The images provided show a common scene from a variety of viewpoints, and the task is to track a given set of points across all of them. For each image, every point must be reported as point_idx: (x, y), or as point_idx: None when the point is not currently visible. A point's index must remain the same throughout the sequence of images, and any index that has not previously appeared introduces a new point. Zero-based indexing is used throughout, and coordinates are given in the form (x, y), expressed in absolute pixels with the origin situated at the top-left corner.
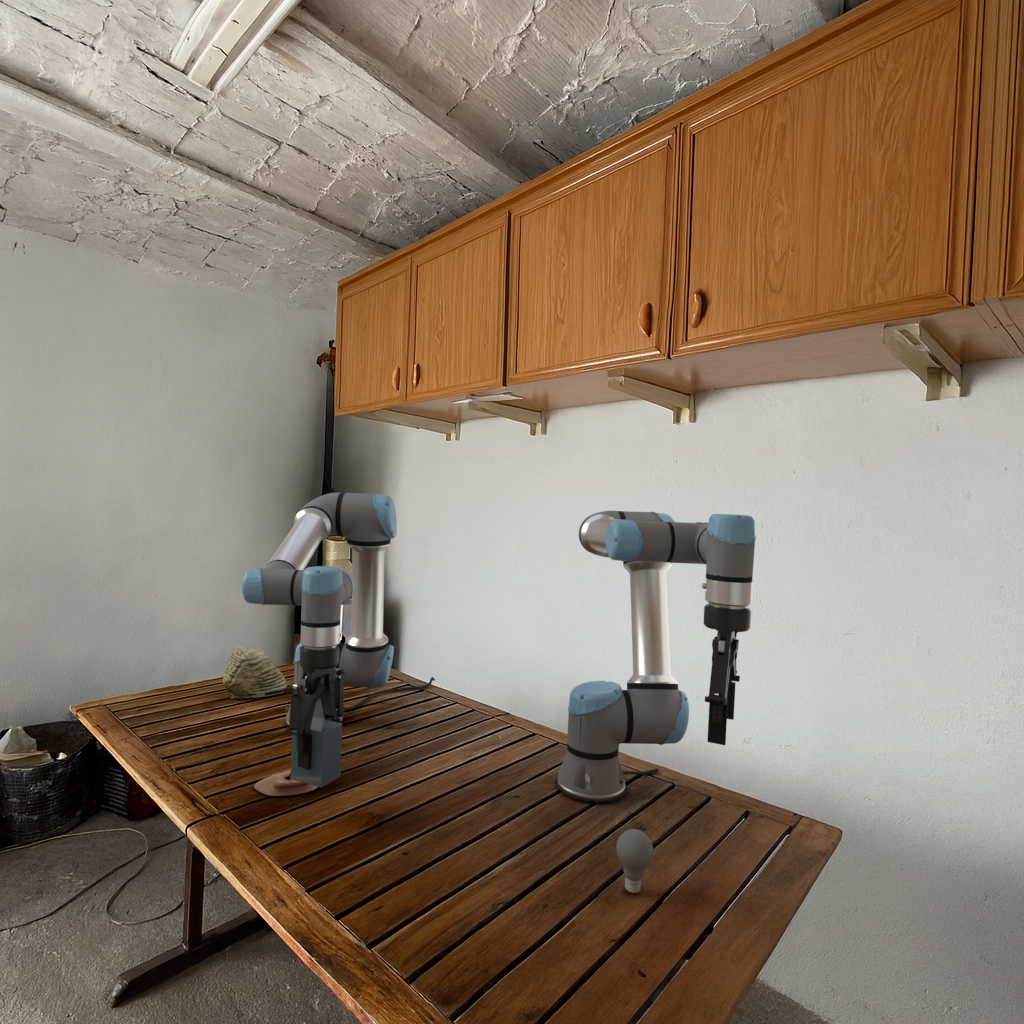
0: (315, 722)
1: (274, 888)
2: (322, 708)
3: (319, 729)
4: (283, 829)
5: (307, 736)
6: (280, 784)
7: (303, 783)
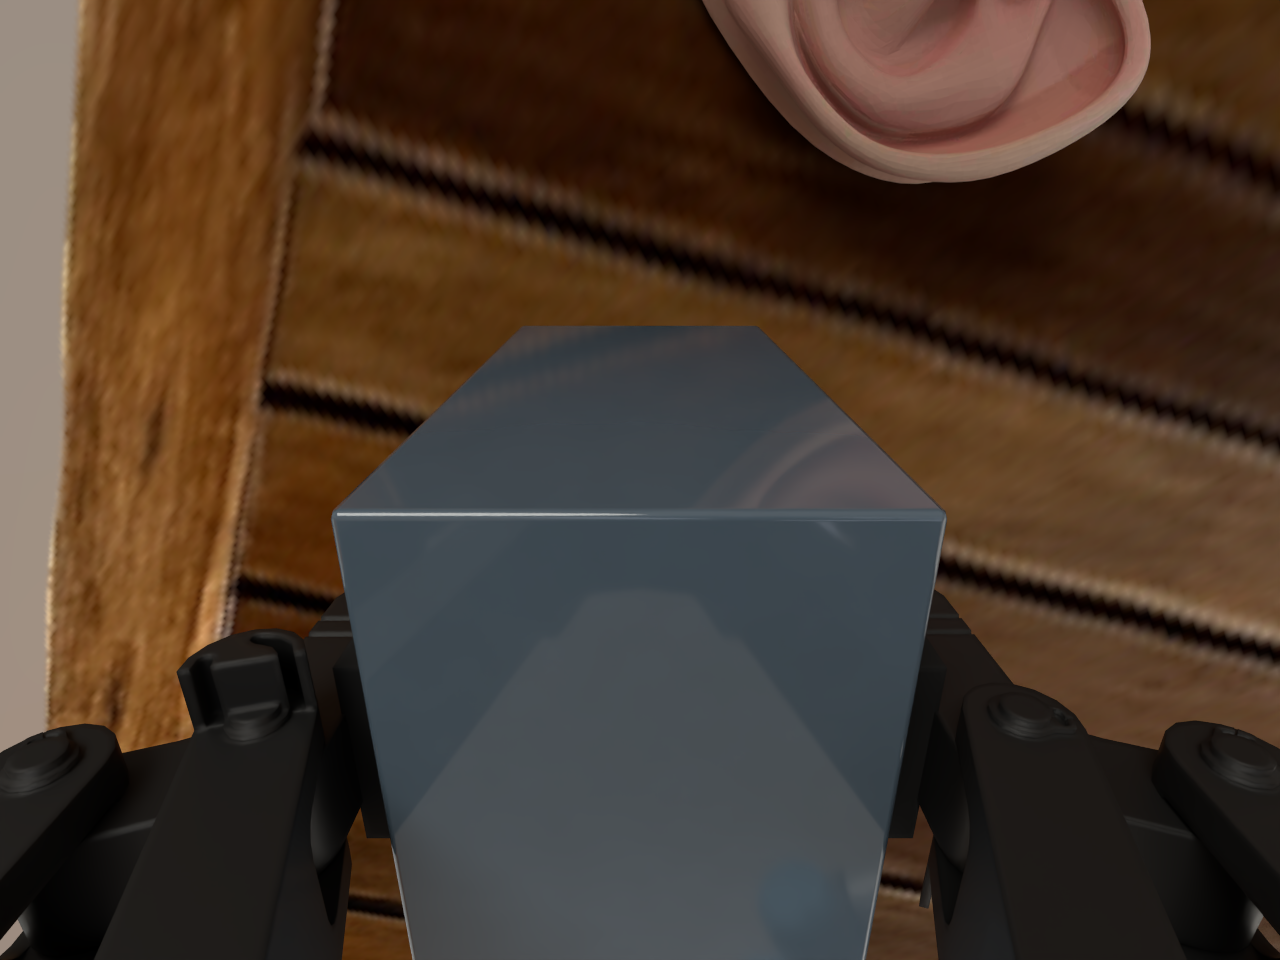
0: (689, 759)
1: (133, 645)
2: (1006, 942)
3: (485, 955)
4: (447, 361)
5: (366, 795)
6: (734, 8)
7: (839, 147)
